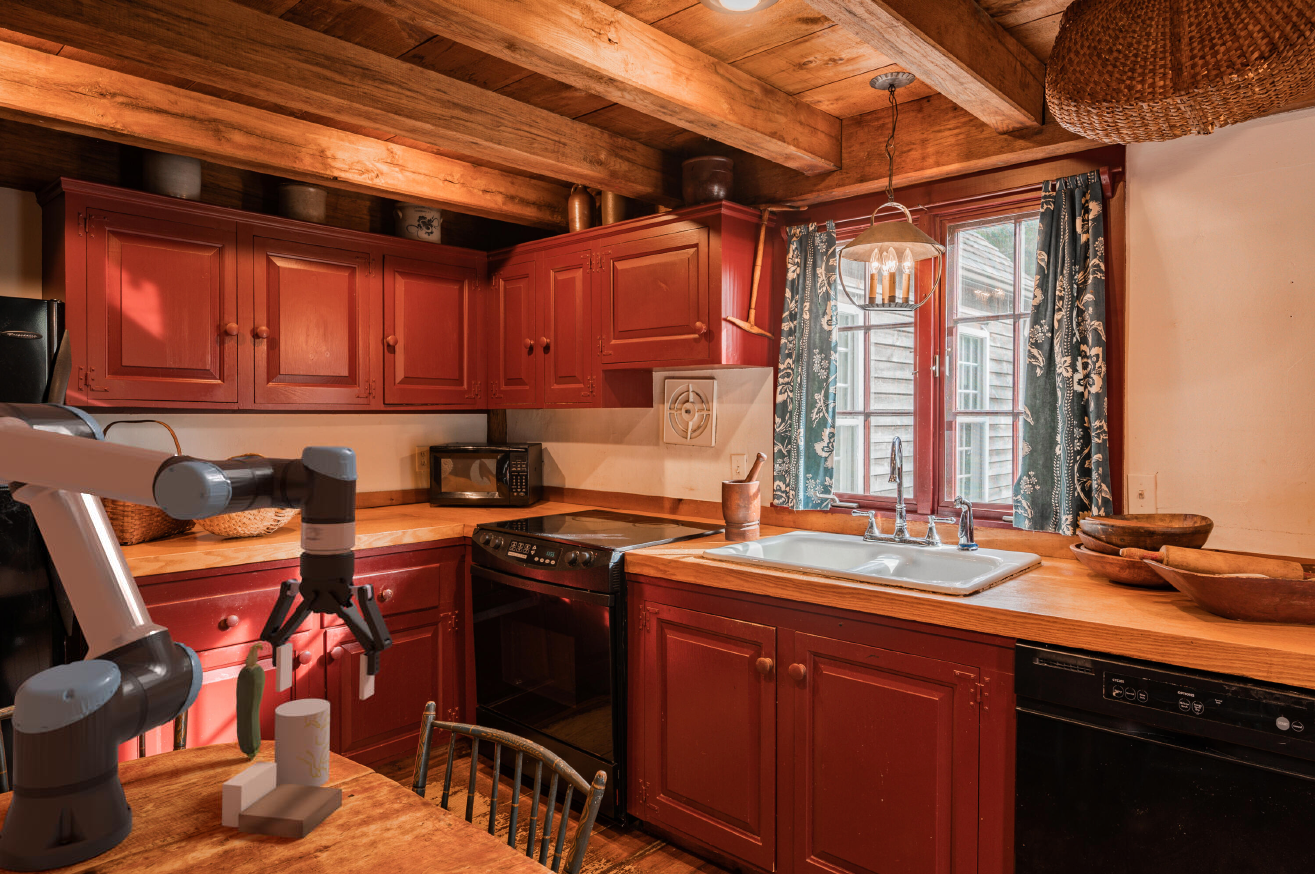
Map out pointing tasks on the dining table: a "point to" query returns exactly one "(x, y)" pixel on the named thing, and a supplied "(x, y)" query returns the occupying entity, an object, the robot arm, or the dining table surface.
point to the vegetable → (249, 703)
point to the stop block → (246, 790)
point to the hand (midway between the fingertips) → (324, 692)
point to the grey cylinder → (302, 742)
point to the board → (290, 810)
